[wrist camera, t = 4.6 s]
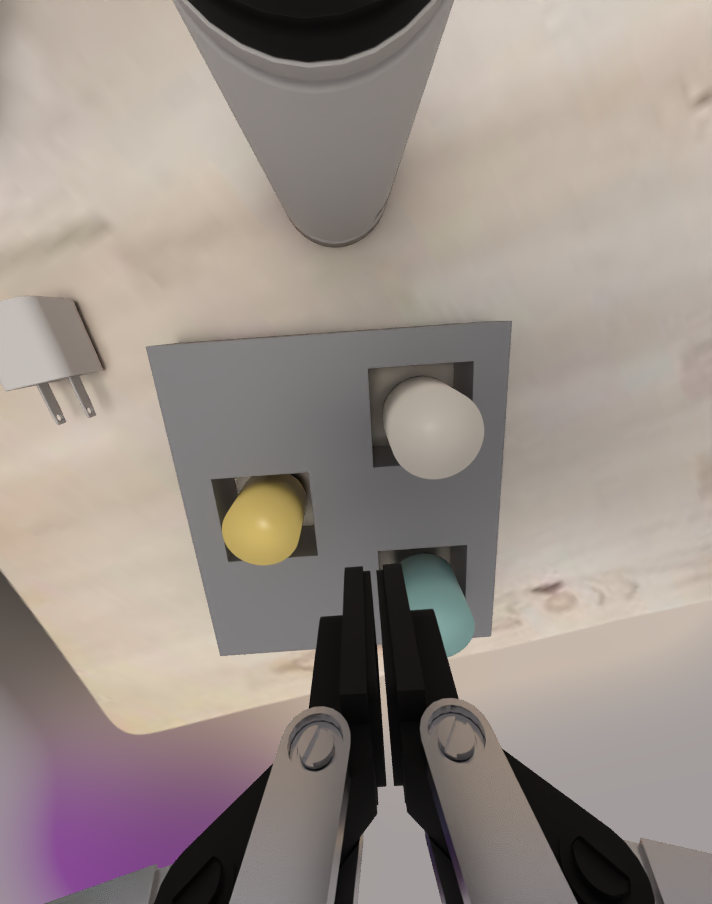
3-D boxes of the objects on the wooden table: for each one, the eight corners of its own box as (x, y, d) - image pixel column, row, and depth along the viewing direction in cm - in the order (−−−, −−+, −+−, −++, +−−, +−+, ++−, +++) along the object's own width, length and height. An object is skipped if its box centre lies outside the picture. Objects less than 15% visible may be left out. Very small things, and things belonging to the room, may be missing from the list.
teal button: (455, 551, 25) (476, 595, 21) (453, 605, 27) (473, 656, 23) (388, 555, 25) (396, 601, 21) (390, 610, 27) (398, 662, 23)
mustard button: (303, 467, 26) (294, 495, 21) (310, 526, 27) (303, 562, 23) (236, 472, 26) (215, 501, 21) (247, 530, 27) (229, 567, 23)
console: (485, 321, 24) (511, 320, 20) (473, 598, 31) (491, 636, 27) (177, 343, 24) (145, 346, 20) (235, 615, 31) (220, 656, 27)
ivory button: (459, 373, 22) (486, 385, 17) (457, 448, 23) (482, 476, 19) (380, 379, 22) (388, 392, 17) (383, 453, 23) (391, 482, 19)
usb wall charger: (78, 299, 23) (25, 294, 19) (124, 406, 25) (85, 421, 22) (18, 314, 23) (-46, 312, 20) (69, 419, 26) (21, 436, 22)
